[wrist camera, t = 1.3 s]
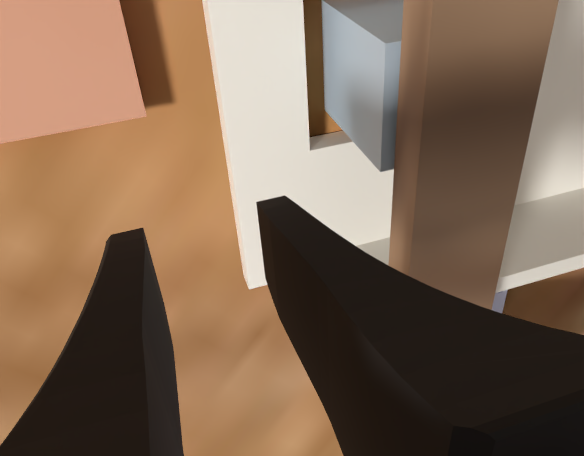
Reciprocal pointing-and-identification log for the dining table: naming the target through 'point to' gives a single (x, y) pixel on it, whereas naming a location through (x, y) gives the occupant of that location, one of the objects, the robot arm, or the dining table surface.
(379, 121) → the slate block
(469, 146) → the sliding bar
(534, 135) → the puzzle board
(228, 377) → the dining table surface
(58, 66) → the salmon pink tile
